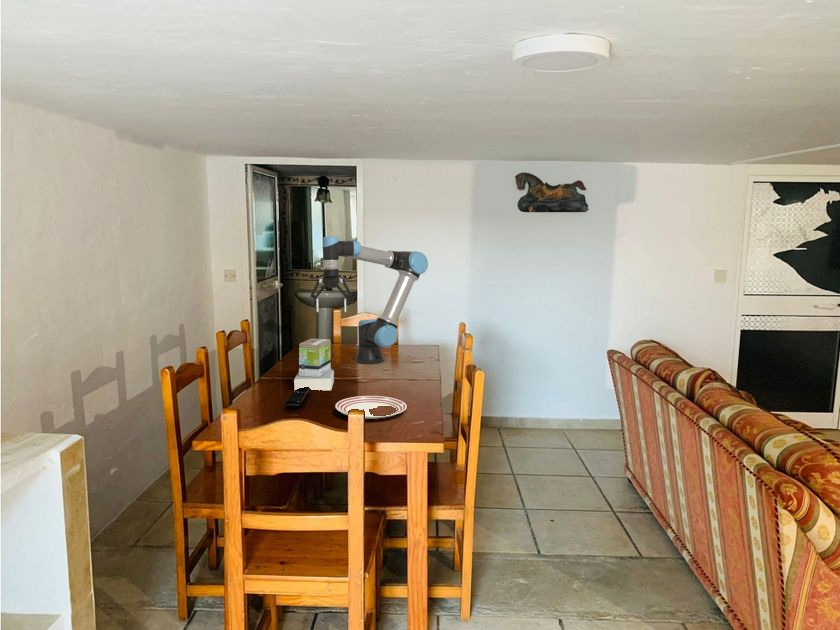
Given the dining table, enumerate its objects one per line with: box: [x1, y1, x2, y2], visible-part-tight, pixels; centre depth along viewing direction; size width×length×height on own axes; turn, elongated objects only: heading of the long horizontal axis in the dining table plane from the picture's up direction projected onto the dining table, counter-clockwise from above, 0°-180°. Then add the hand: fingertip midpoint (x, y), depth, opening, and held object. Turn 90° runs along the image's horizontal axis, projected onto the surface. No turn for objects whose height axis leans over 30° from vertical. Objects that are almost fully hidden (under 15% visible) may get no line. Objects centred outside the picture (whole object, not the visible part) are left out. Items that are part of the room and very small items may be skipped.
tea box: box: [298, 338, 332, 377], centre depth 258 cm, size 15×10×15 cm, turn 170°
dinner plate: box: [334, 395, 408, 420], centre depth 221 cm, size 28×27×3 cm
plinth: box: [293, 368, 335, 392], centre depth 260 cm, size 16×16×6 cm
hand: (331, 311), depth 282 cm, fingers open, 13 cm apart
